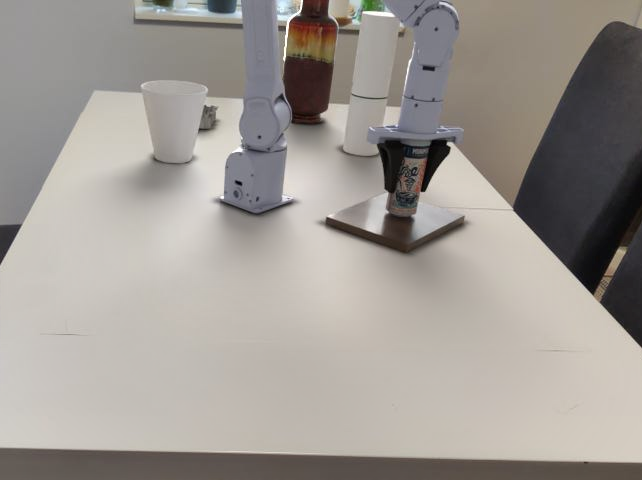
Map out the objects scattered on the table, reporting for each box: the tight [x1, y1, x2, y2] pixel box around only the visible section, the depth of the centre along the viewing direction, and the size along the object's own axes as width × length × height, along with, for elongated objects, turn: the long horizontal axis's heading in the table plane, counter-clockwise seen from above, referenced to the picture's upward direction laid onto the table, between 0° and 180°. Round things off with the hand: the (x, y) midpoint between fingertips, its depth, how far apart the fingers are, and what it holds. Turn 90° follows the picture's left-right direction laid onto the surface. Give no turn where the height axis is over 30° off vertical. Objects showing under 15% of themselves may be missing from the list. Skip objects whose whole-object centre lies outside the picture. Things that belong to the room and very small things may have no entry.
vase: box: [281, 0, 339, 125], centre depth 155 cm, size 11×11×26 cm
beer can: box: [385, 139, 431, 217], centre depth 106 cm, size 5×5×12 cm
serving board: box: [324, 191, 466, 253], centre depth 109 cm, size 18×14×1 cm
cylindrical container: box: [342, 10, 401, 157], centre depth 136 cm, size 7×7×25 cm
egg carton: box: [199, 104, 219, 130], centre depth 152 cm, size 11×8×4 cm
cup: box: [139, 79, 209, 164], centre depth 127 cm, size 12×12×12 cm
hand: (405, 190), depth 107 cm, fingers closed on beer can, 5 cm apart
